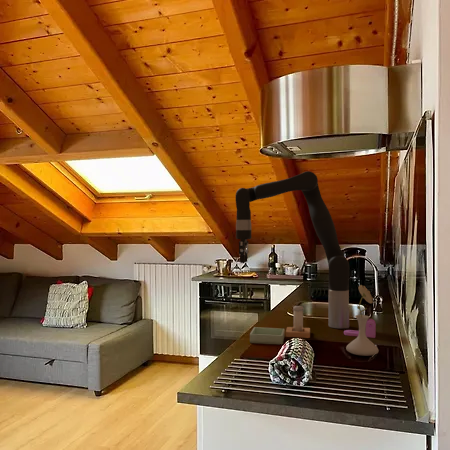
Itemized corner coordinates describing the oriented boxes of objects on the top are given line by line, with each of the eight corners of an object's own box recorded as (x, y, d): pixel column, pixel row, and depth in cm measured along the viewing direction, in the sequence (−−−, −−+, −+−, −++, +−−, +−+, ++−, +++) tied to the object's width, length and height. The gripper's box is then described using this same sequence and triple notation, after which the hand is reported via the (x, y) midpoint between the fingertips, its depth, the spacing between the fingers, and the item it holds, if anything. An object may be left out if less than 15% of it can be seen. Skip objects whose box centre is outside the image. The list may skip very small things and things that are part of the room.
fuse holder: (310, 332, 200) (310, 328, 200) (309, 337, 190) (309, 333, 190) (287, 331, 202) (287, 327, 202) (285, 336, 192) (285, 331, 192)
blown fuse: (303, 333, 197) (303, 306, 198) (302, 336, 193) (303, 307, 193) (293, 333, 198) (293, 305, 198) (293, 335, 194) (293, 307, 194)
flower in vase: (380, 359, 159) (380, 288, 159) (347, 357, 161) (347, 287, 162) (375, 349, 172) (376, 283, 172) (344, 347, 174) (345, 282, 174)
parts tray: (284, 336, 191) (284, 328, 191) (282, 344, 179) (282, 335, 179) (253, 335, 194) (253, 327, 194) (249, 342, 181) (249, 334, 181)
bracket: (375, 335, 196) (375, 319, 196) (375, 338, 191) (375, 321, 191) (344, 332, 201) (344, 317, 201) (343, 335, 195) (343, 319, 195)
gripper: (249, 229, 213) (249, 263, 213) (253, 229, 227) (253, 261, 227) (233, 229, 215) (233, 263, 214) (238, 229, 229) (238, 261, 228)
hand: (243, 262), depth 221 cm, fingers open, 8 cm apart
